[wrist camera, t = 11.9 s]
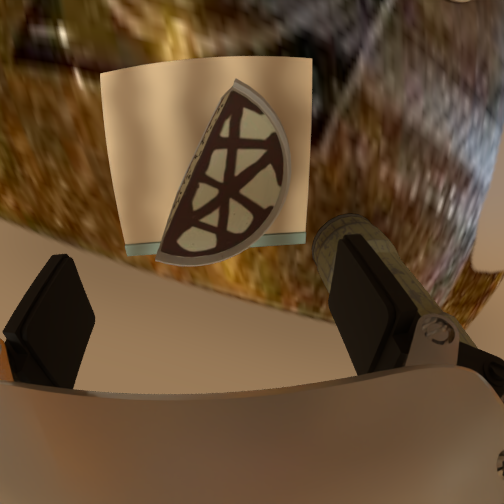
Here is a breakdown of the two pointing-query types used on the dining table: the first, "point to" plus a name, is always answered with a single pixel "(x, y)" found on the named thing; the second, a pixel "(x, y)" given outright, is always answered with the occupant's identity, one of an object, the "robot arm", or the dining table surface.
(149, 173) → the dock
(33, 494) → the robot arm
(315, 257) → the thermos
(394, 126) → the dining table surface
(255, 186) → the food container
